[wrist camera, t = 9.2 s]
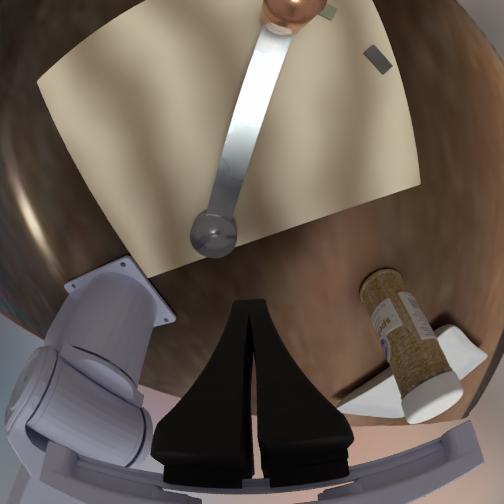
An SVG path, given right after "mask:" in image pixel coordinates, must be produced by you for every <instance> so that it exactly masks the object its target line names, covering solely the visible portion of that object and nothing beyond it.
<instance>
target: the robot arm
mask: <svg viewBox="0 0 504 504" xmlns="http://www.w3.org/2000/svg"><path fill="white" fill-rule="evenodd" d="M122 262H124V263H125V264H123V263H122ZM64 287H65V289H66V291H67V292H68V293H69V295H68V297H67V298H66V300H65V302H64V303H63V305H62V307H61V308H60V310H59V312H58V314H57V315H56V317H55V319H54V321H53V322H52V324H51V326H50V328H49V330H48V332H47V334H46V337H45V343H44V347H39V348H37V349H36V350H35V351H34V352H33V354H32V355H31V357H30V358H29V359H28V361H27V362H26V364H25V366H24V368H23V369H22V371H21V373H20V375H19V377H18V379H17V382H16V384H15V387H14V390H13V392H12V396H11V399H10V401H9V404H8V406H7V408H6V412H5V420H4V422H5V423H4V424H5V432H6V436H7V438H8V440H9V442H10V444H11V446H12V447H13V449H14V451H15V452H16V454H17V455H18V457H19V459H20V460H21V462H22V465H21V467H20V470H19V472H18V474H17V477H16V480H15V482H14V484H13V487H12V490H11V492H10V495H9V498H8V501H7V504H78V502H79V501H80V502H82V503H84V504H202V500H201V499H199V498H194V497H190V496H188V495H186V494H180V493H173V492H169V491H164V490H163V489H162V488H164V489H171V490H178V491H186V492H197V493H210V494H268V493H282V492H292V491H301V490H308V489H315V488H322V487H327V486H333V485H338V484H342V483H347V482H351V481H354V482H353V483H350V484H346V485H343V486H339V487H335V488H330V489H326V490H324V491H323V493H320V494H318V501H312V502H305V503H296V504H409V503H411V502H413V501H416V500H418V499H420V498H422V497H424V496H426V495H428V494H431V493H433V492H434V491H437V490H438V489H440V488H442V487H444V486H446V485H448V484H450V483H451V482H453V481H455V480H457V479H459V478H460V477H462V476H464V475H466V474H467V473H469V472H471V471H472V470H474V469H475V468H477V467H479V466H480V465H482V464H483V463H484V459H483V455H482V452H481V449H480V446H479V443H478V440H477V437H476V434H475V431H474V428H473V426H472V423H471V421H470V420H468V421H467V422H464V423H462V424H460V425H459V426H456V427H454V428H452V429H451V430H449V431H447V432H446V433H444V434H443V435H442V436H441V437H439V438H437V439H435V440H432V441H430V442H427V443H425V444H422V445H420V446H417V447H415V448H412V449H409V450H406V451H403V452H400V453H398V454H394V455H391V456H388V457H385V458H382V459H378V460H374V461H371V462H367V463H363V464H359V465H355V466H350V467H348V461H347V458H348V450H347V448H348V447H349V446H350V445H351V444H352V443H353V441H354V436H353V432H352V430H351V427H350V425H349V423H348V421H347V419H346V418H345V416H344V415H343V414H342V413H341V412H340V411H339V410H338V409H337V408H335V407H334V406H333V405H332V404H331V403H330V402H329V401H328V400H327V399H326V398H325V397H324V396H323V395H322V394H321V393H320V392H319V391H318V390H317V389H316V387H315V386H314V385H313V384H312V383H311V382H310V381H309V379H308V378H307V377H306V376H305V375H304V373H303V372H302V371H301V369H300V368H299V367H298V365H297V364H296V362H295V361H294V360H293V358H292V357H291V355H290V354H289V352H288V350H287V349H286V347H285V345H284V344H283V342H282V340H281V338H280V336H279V334H278V332H277V330H276V328H275V326H274V324H273V322H272V319H271V317H270V314H269V312H268V308H267V305H266V300H264V299H254V300H238V301H234V302H233V305H232V309H231V313H230V316H229V319H228V322H227V324H226V327H225V329H224V331H223V334H222V336H221V338H220V341H219V343H218V345H217V347H216V349H215V350H214V352H213V354H212V356H211V358H210V360H209V361H208V363H207V365H206V366H205V368H204V369H203V371H202V373H201V374H200V375H199V377H198V378H197V380H196V381H195V383H194V384H193V385H192V387H191V388H190V389H189V390H188V392H187V393H186V394H185V395H184V396H183V398H182V399H181V400H180V401H179V402H178V403H177V404H176V406H175V407H174V408H173V409H172V410H171V411H170V412H169V413H168V414H167V415H166V416H165V417H164V418H162V419H161V421H159V423H158V424H157V426H156V429H155V432H154V435H153V425H152V420H151V417H150V415H149V413H148V411H146V410H145V409H144V408H143V407H142V403H143V398H144V395H143V394H142V393H140V392H139V391H138V390H137V387H138V383H139V379H140V375H141V371H142V367H143V363H144V359H145V355H146V351H147V348H148V344H149V340H150V337H151V333H152V329H153V327H155V326H159V325H163V324H167V323H171V322H174V321H175V320H176V315H175V314H174V313H173V312H172V310H171V309H170V308H169V306H168V305H167V304H166V303H165V301H164V300H163V299H162V297H161V296H160V295H159V294H158V292H157V291H156V290H155V288H154V287H153V286H152V284H151V283H150V282H149V280H148V279H147V277H146V276H145V275H144V273H143V272H142V271H141V269H140V268H139V266H138V265H137V264H136V262H135V261H134V259H133V258H132V257H130V256H124V257H122V258H119V259H117V260H115V261H113V262H110V263H108V264H106V265H104V266H101V267H99V268H97V269H95V270H93V271H90V272H88V273H86V274H84V275H82V276H80V277H77V278H75V279H73V280H71V281H69V282H67V283H66V284H65V285H64ZM166 318H167V319H166ZM253 351H254V358H255V365H256V381H257V430H258V431H257V432H258V434H257V435H258V436H257V437H258V443H259V448H260V453H261V469H262V471H263V475H264V478H262V479H252V476H253V475H254V474H255V473H254V456H253V438H252V418H251V382H252V366H253ZM150 449H151V454H150V455H151V456H152V457H153V458H154V459H155V460H157V461H158V462H160V463H161V464H163V465H164V473H163V474H161V473H154V472H148V471H143V470H137V469H136V468H138V467H139V466H140V465H141V464H142V462H143V461H144V460H145V458H146V457H147V455H148V454H149V451H150Z"/></svg>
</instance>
